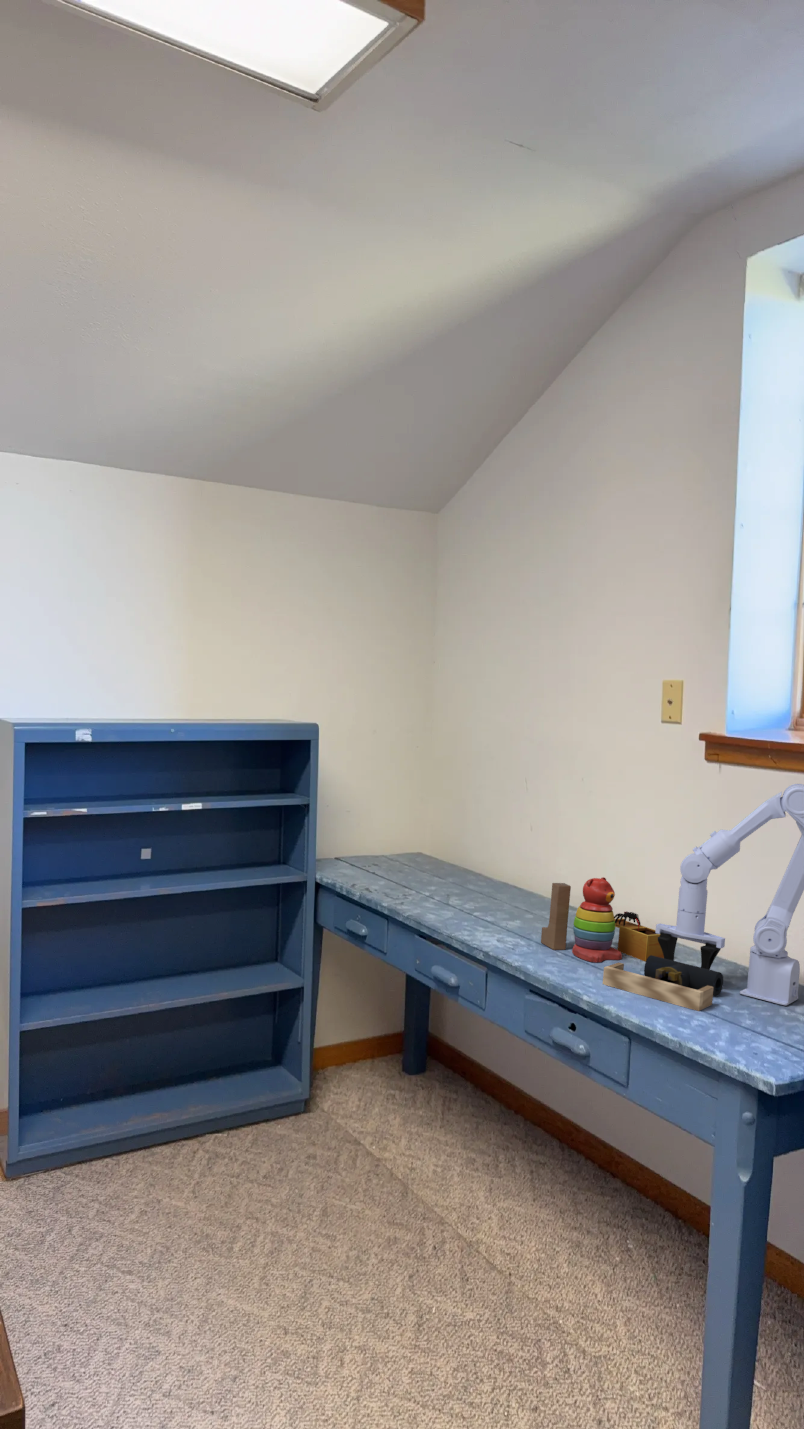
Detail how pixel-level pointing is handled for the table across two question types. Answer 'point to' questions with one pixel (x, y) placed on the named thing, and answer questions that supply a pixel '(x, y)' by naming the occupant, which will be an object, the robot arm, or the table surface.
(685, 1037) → the table surface
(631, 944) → the spider toy trap
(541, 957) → the table surface
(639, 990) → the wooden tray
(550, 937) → the wooden block
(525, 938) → the table surface
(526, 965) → the table surface
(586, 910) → the stacking bear
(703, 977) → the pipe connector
